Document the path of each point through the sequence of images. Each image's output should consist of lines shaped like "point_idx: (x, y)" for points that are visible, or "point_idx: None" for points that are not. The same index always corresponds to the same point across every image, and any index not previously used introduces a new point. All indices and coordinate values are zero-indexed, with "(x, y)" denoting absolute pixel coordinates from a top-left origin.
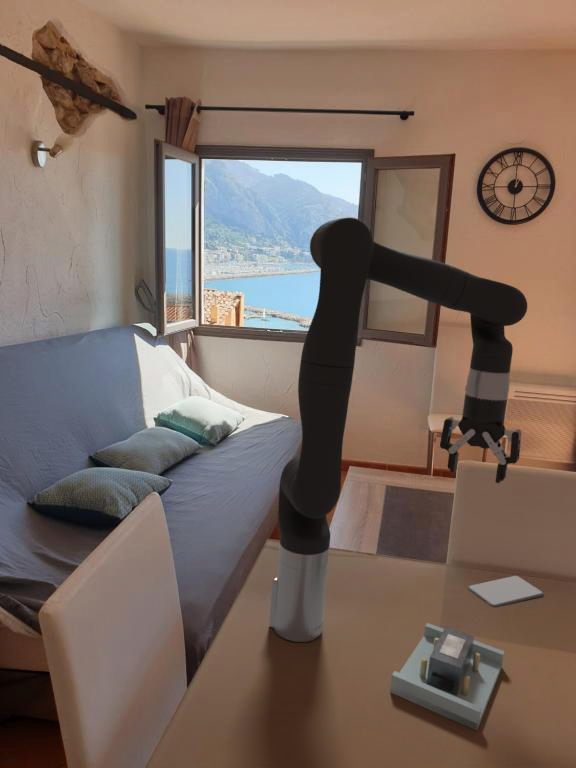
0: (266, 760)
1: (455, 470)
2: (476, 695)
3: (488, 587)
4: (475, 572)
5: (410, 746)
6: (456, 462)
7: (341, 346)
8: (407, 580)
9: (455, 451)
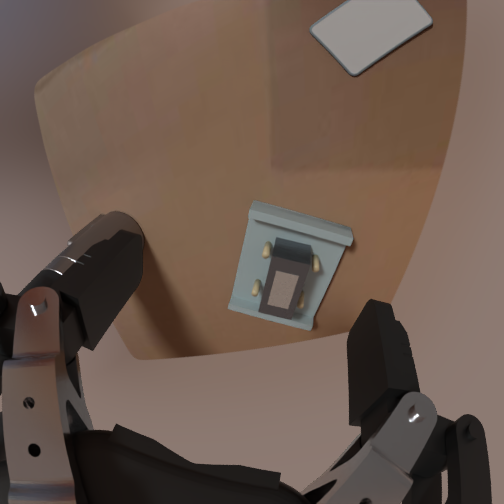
0: (178, 357)
1: (139, 253)
2: (313, 292)
3: (345, 22)
4: None
5: (258, 339)
6: (115, 281)
7: None
8: (205, 52)
9: (79, 370)
